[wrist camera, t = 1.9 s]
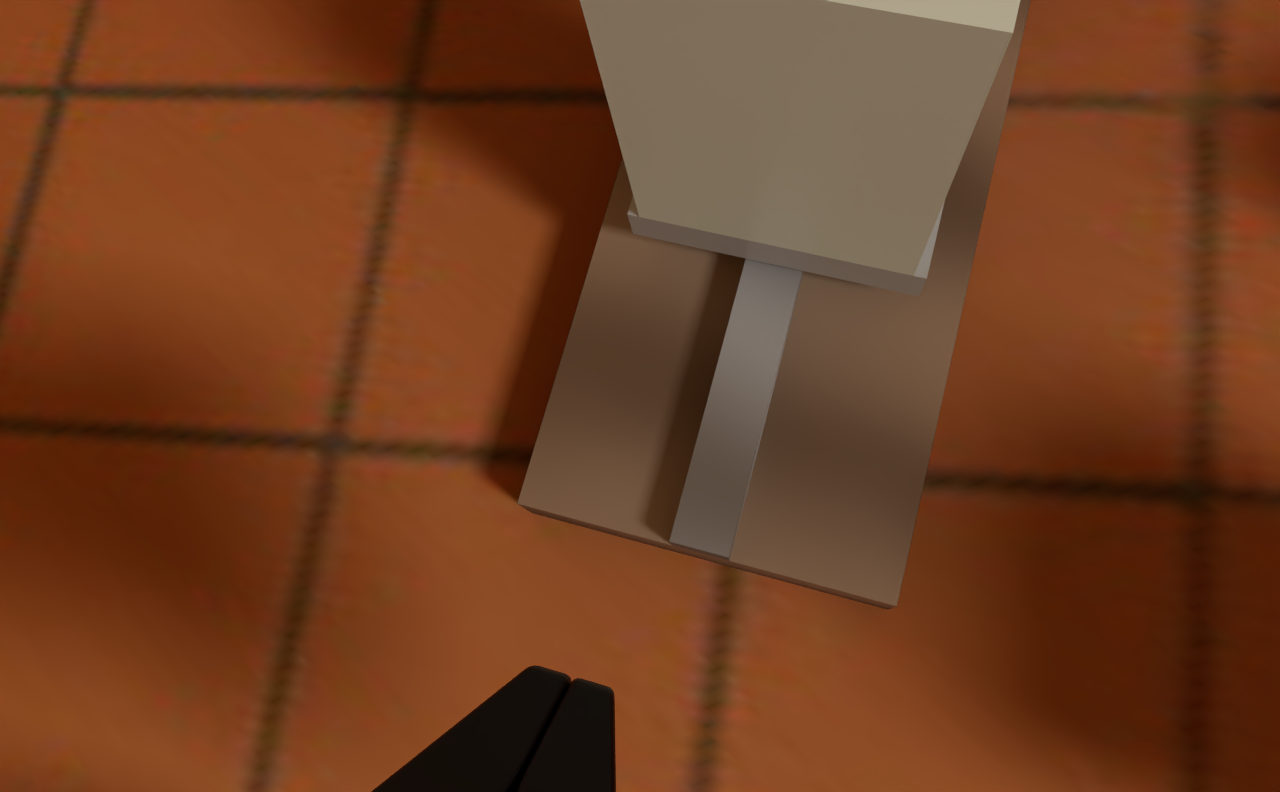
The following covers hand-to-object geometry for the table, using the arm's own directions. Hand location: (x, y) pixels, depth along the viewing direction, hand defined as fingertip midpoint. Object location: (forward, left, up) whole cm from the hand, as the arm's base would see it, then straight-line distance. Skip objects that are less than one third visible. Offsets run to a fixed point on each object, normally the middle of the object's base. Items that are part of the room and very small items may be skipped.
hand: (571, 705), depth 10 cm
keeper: (+9, +4, -10) cm, 14 cm away
